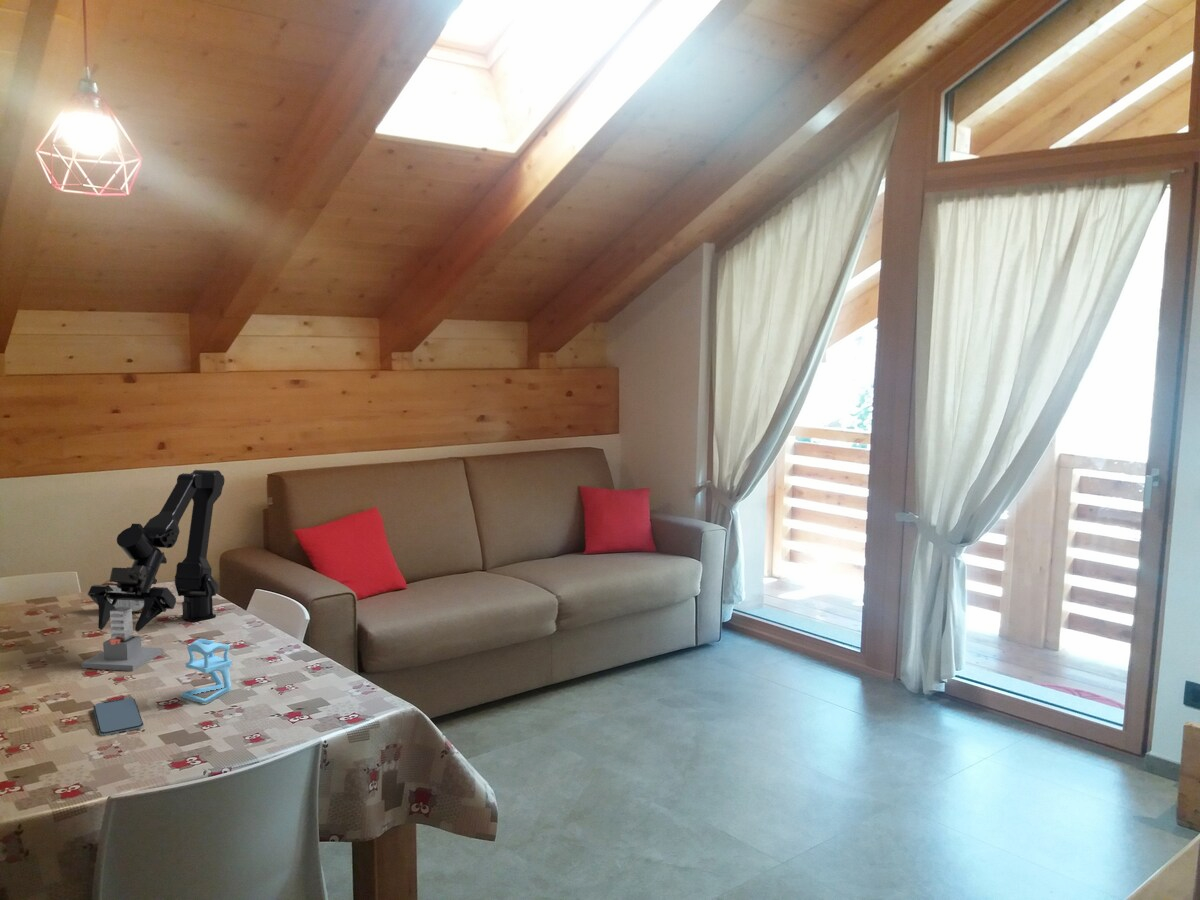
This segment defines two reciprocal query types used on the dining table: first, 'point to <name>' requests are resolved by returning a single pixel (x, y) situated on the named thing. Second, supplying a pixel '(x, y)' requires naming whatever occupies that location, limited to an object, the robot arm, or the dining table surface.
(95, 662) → the base
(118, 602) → the tin
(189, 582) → the robot arm
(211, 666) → the light blue holder stand
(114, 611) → the column
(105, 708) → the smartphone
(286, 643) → the dining table surface
